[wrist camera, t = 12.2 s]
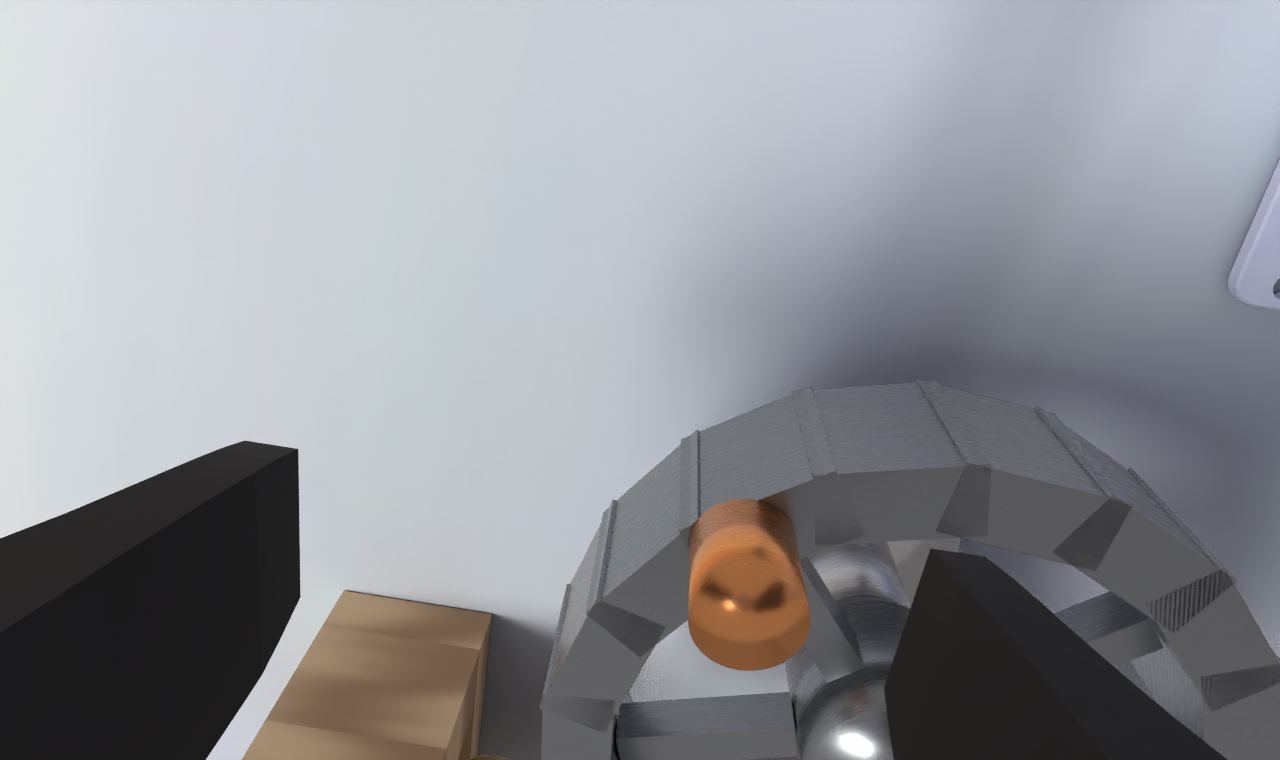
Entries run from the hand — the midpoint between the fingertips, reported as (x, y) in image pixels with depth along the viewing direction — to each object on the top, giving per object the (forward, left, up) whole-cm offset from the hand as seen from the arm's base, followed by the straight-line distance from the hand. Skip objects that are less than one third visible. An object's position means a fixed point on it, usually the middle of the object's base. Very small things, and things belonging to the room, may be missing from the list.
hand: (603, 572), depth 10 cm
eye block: (+5, +13, -10) cm, 17 cm away
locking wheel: (-6, +4, -6) cm, 9 cm away
